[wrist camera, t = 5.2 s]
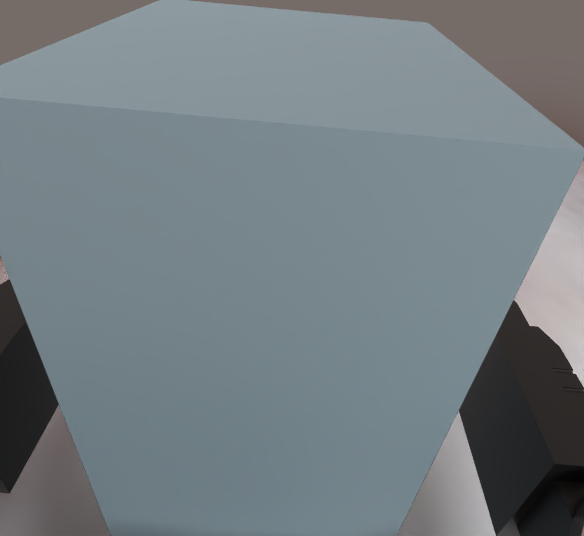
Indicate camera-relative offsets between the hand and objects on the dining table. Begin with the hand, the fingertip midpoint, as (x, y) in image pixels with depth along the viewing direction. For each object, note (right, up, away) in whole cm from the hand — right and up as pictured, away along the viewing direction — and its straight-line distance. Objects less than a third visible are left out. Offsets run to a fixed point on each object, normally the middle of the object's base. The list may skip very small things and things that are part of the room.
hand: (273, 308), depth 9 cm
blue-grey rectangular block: (-1, -6, +2) cm, 7 cm away
